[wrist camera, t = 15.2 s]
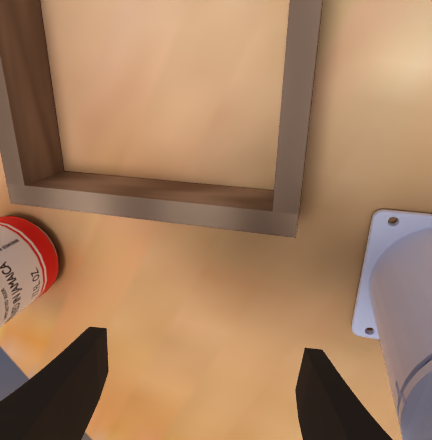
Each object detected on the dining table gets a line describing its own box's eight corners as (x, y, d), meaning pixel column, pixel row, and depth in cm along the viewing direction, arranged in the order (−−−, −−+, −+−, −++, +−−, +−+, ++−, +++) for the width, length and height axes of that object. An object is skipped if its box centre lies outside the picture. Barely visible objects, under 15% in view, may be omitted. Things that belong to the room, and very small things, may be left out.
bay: (328, -51, 16) (331, -83, 13) (299, 213, 20) (295, 237, 17) (16, -32, 20) (-42, -53, 16) (50, 187, 24) (10, 203, 21)
